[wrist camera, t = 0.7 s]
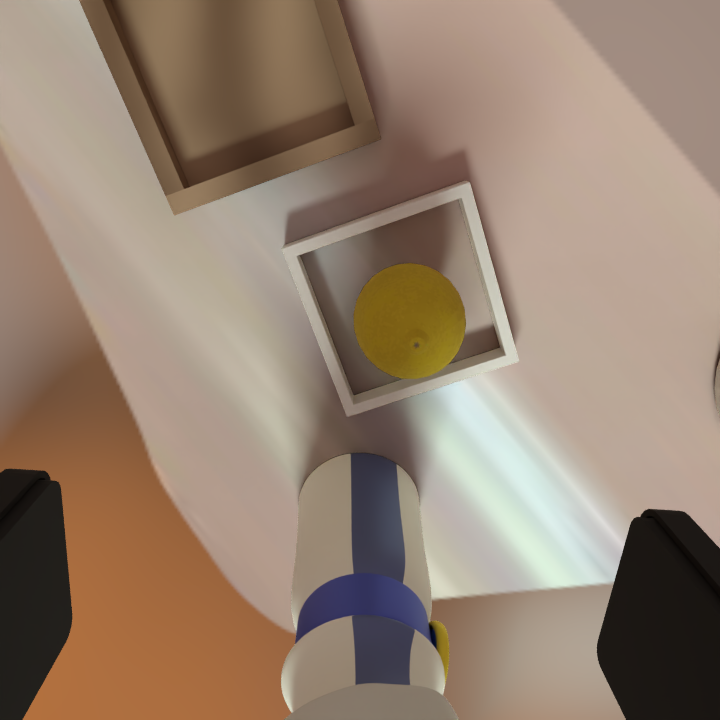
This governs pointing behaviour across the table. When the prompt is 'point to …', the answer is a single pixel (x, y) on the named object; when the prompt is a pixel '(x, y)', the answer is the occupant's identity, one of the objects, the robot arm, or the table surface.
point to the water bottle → (363, 600)
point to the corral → (451, 371)
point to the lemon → (409, 321)
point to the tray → (233, 88)
